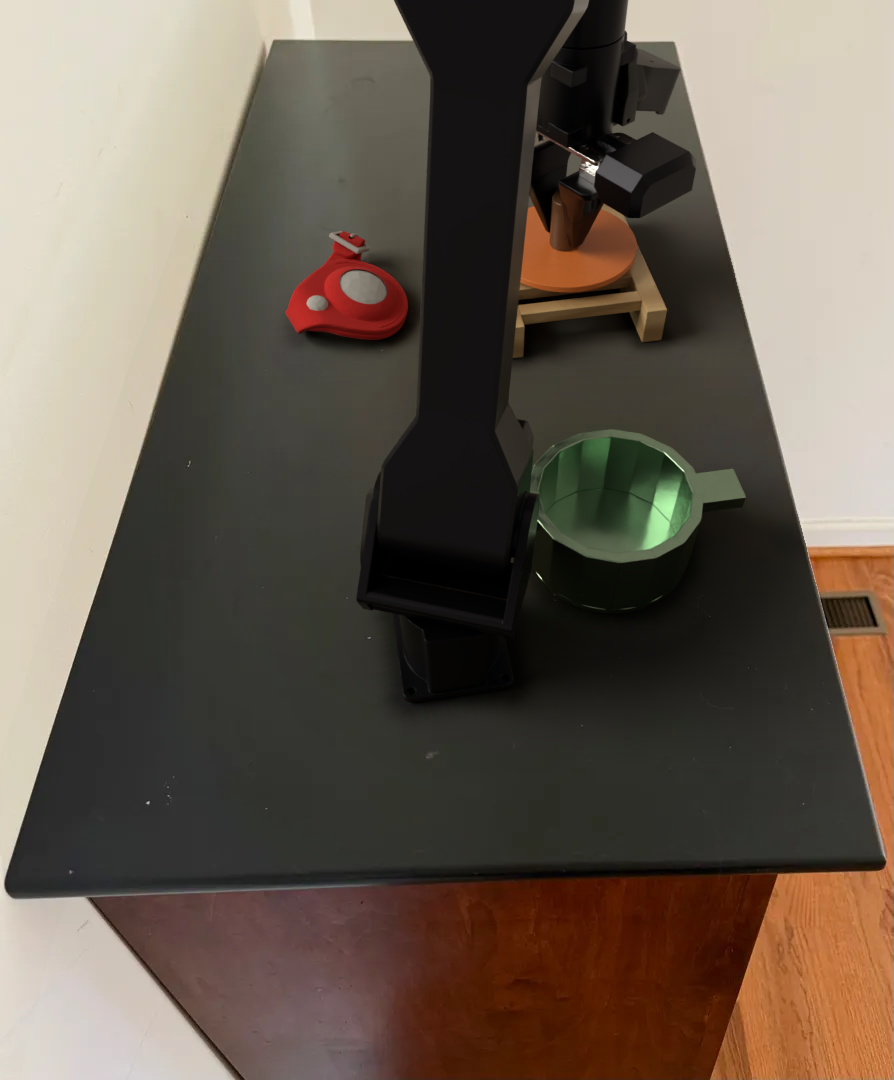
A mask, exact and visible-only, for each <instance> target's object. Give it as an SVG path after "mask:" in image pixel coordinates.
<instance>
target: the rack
mask: <svg viewBox="0 0 894 1080" xmlns="http://www.w3.org/2000/svg"><path fill="white" fill-rule="evenodd" d="M601 209H602V210H605V211H607V212H609V213H611V214H613V215H615V216H617V217H618V218H620V219H621V220H622V221H623V222H625V223H626V224H627V225H628V226H629V223H628V222H627V221H628V220H627V219H626V217H625V216H624V215H622V214H620V213H619V212H617V211H615V210H614V209H612V208H610V207H609V206H607V205H605V204H603V206H602V208H601ZM640 249H641V248H640V247H639V245H638V244H637V252H636V257H635V260H634V263H633V264H632V266H631V268H630V269H629V270H628V271H627V272H626V273H625V274H624V275H623V276H622V277H620V278H619V279H617V280H616V281H614V282H612V283H610V284H608V285H605V286H603V287H600V288H596V289H592V290H588V291H582V292H551V291H546V290H540V289H537V288H533V287H530V286H527V285H524V284H522V283H520V291H519V301H522V300H524V301H525V300H530V299H532V300H533V299H539V298H548V297H556V296H557V297H558V296H565V295H574V294H583V293H591V292H599V291H609V290H616V289H619V293H609V294H601V295H593V296H584V297H575V298H568V299H567V298H566V299H559V300H551V301H542V302H535V303H526V304H518V310H517V320H516V330H515V340H514V350H513V359H517V358H518V359H519V358H524V352H525V351H524V349H525V329H526V327H525V325H531V324H532V325H534V324H540V323H541V324H542V323H549V322H557V321H566V320H574V319H575V320H576V319H582V318H592V317H598V316H599V317H600V316H608V315H615V314H617V315H618V314H623V313H629V315H630V317H631V320H632V322H633V324H634V327H635V329H636V333H637V334H638V337H639V339H640V342H641V343H647V342H649V343H650V342H655V341H656V342H657V341H661V340H662V338H663V334H664V328H665V323H666V317H667V312H668V308H667V306H666V303H665V302H664V299H663V297H662V295H661V293H660V290H659V289H658V286H657V284H656V282H655V280H654V278H653V276H652V273H651V271H650V269H649V267H648V265H647V263H646V261H645V258H644V256H643V253H642V251H641V250H640Z"/></svg>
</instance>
